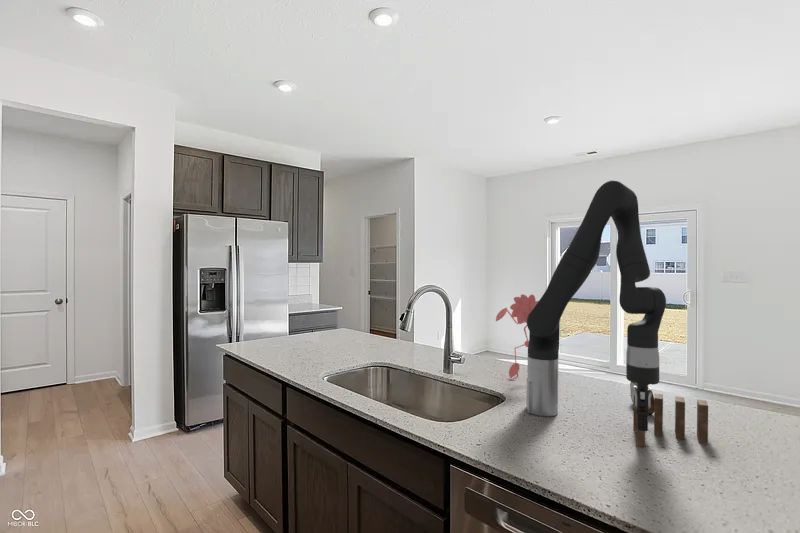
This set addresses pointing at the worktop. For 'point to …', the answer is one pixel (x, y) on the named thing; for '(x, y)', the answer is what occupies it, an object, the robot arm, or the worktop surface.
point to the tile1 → (634, 416)
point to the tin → (651, 409)
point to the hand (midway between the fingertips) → (642, 425)
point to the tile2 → (658, 414)
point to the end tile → (639, 432)
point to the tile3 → (680, 417)
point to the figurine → (519, 320)
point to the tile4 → (702, 421)
